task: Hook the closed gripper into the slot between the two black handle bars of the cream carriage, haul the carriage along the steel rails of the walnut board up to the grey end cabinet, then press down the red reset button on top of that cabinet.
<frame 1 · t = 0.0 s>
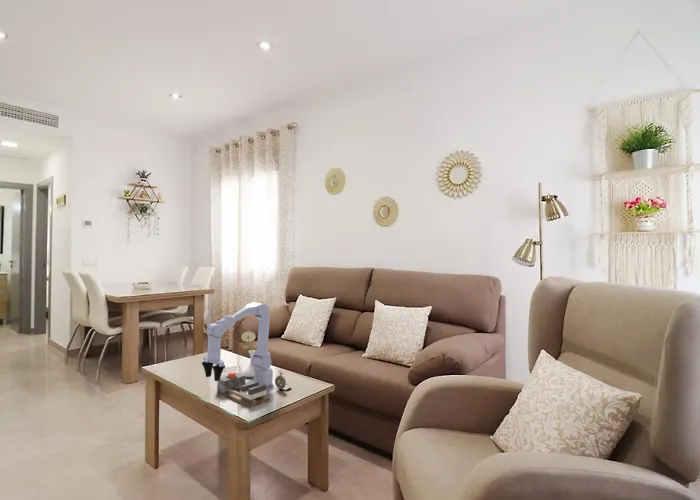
hand: (212, 378, 176), 10 cm above the table, tool pointing down, fingers open, 7 cm apart
reset button: (231, 377, 188), point 7 cm above the table, slide at 0.0 cm
pocket watch: (282, 389, 194), on the table
carriage: (253, 390, 177), point 5 cm above the table, slide at 0.0 cm
rail board: (243, 396, 182), on the table
flower in vase: (250, 375, 213), on the table
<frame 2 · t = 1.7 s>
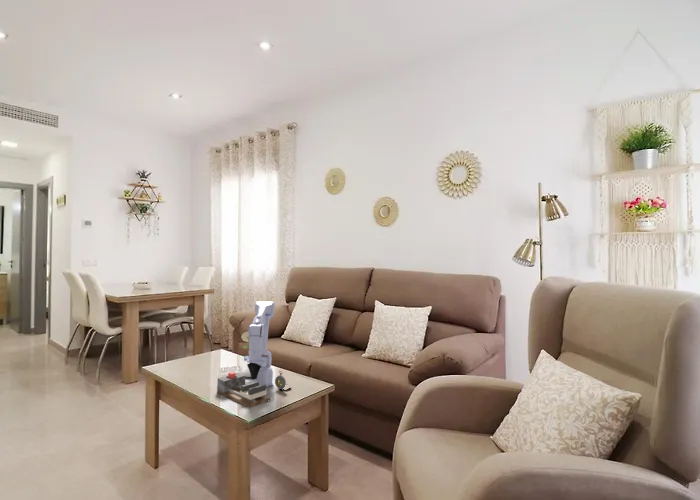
hand: (254, 378, 177), 10 cm above the table, tool pointing down, fingers closed
nothing on the table moved.
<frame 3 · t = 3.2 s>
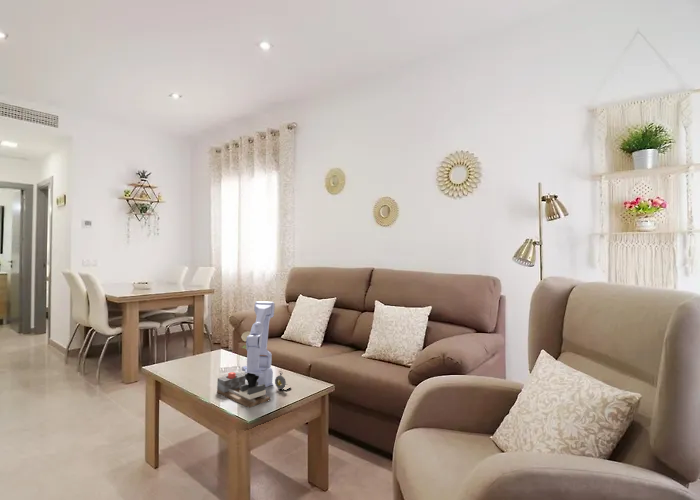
hand: (251, 389, 178), 5 cm above the table, tool pointing down, fingers closed
carriage: (252, 389, 177), point 5 cm above the table, slide at 0.6 cm, touching gripper
everything else where it was.
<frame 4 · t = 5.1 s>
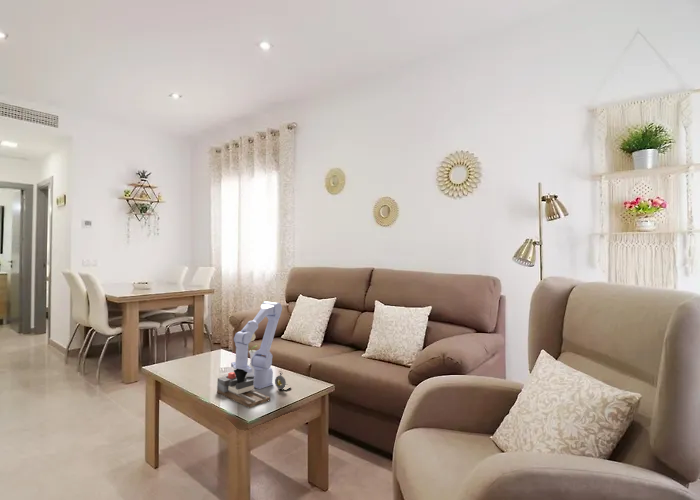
hand: (240, 384, 184), 5 cm above the table, tool pointing down, fingers closed
carriage: (241, 385, 183), point 5 cm above the table, slide at 9.7 cm, touching gripper
everything else where it was.
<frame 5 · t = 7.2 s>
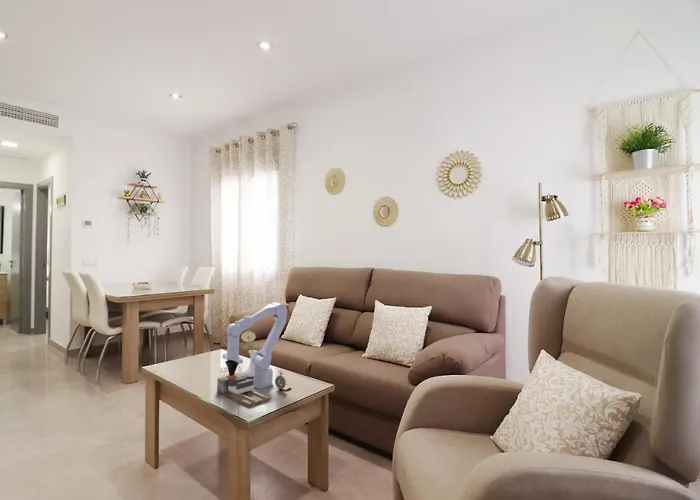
hand: (231, 375, 188), 8 cm above the table, tool pointing down, fingers closed, pressing on reset button
reset button: (231, 378, 188), point 6 cm above the table, slide at 0.8 cm, touching gripper
carriage: (241, 384, 183), point 5 cm above the table, slide at 9.8 cm
everything else where it was.
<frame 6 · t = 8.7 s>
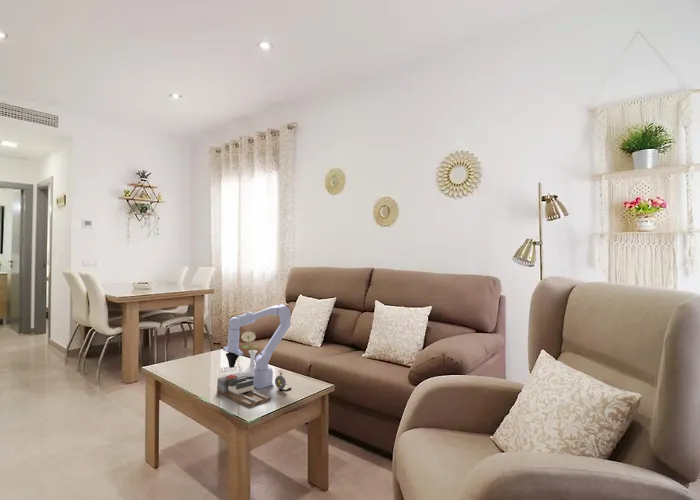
hand: (231, 367, 193), 10 cm above the table, tool pointing down, fingers closed
reset button: (231, 379, 188), point 6 cm above the table, slide at 1.2 cm
everything else where it was.
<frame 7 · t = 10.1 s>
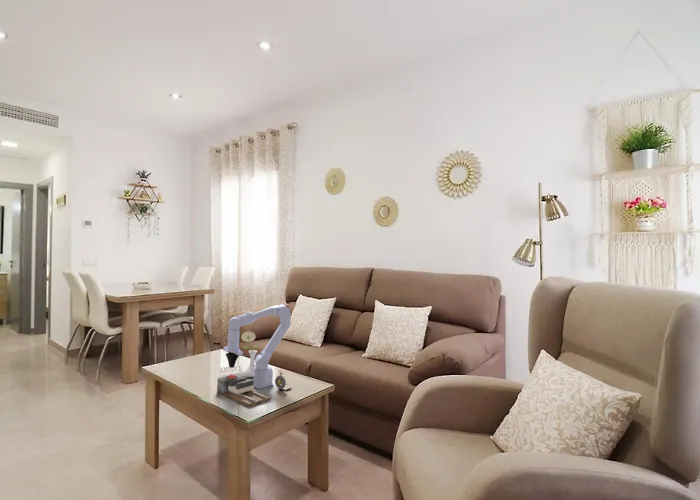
hand: (231, 367, 193), 10 cm above the table, tool pointing down, fingers closed
nothing on the table moved.
at the end: carriage slide at 9.8 cm; reset button slide at 1.2 cm; the gripper is holding nothing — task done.
